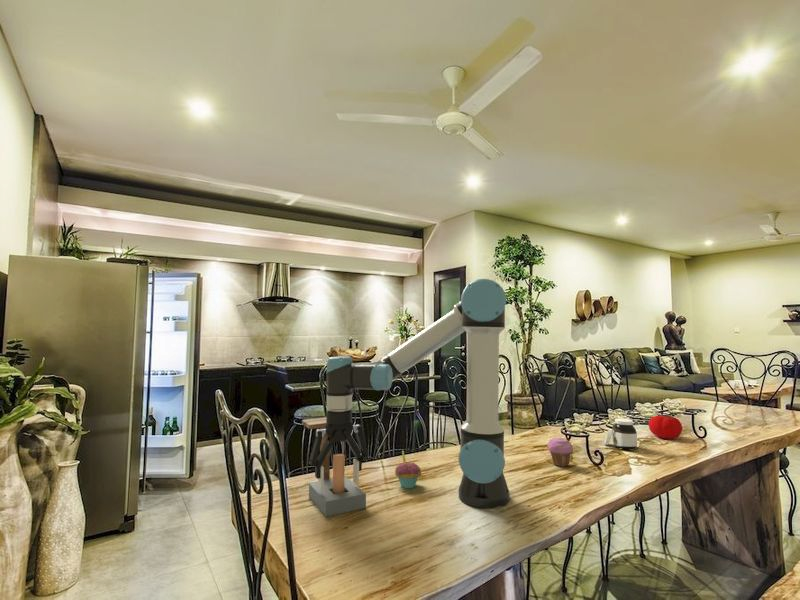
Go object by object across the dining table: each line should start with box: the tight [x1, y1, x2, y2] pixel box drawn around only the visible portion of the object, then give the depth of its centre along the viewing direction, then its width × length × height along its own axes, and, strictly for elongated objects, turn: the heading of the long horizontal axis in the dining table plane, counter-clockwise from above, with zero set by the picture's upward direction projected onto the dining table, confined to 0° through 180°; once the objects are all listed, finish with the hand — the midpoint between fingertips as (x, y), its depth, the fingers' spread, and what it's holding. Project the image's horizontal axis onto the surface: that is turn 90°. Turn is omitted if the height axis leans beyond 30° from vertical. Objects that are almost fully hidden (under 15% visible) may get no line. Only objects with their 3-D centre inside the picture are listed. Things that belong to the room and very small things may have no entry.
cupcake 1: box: [394, 448, 422, 489], centre depth 137 cm, size 9×8×12 cm
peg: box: [332, 453, 346, 494], centre depth 122 cm, size 3×3×14 cm
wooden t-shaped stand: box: [301, 416, 331, 480], centre depth 132 cm, size 8×14×22 cm, turn 118°
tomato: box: [648, 414, 683, 440], centre depth 194 cm, size 13×12×11 cm
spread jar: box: [603, 418, 638, 450], centre depth 179 cm, size 12×11×12 cm
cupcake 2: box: [547, 437, 574, 468], centre depth 156 cm, size 9×9×10 cm
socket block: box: [308, 475, 367, 518], centre depth 124 cm, size 16×12×4 cm
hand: (338, 485), depth 122 cm, fingers open, 10 cm apart
